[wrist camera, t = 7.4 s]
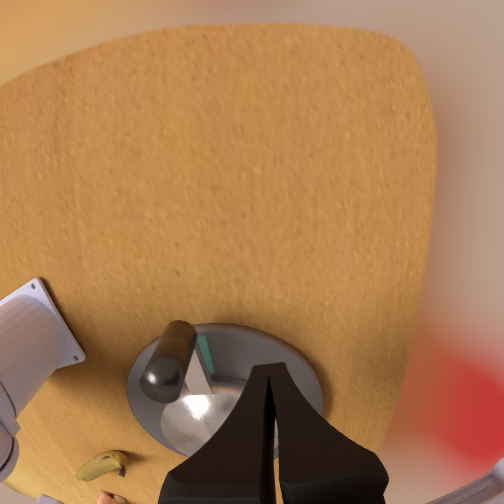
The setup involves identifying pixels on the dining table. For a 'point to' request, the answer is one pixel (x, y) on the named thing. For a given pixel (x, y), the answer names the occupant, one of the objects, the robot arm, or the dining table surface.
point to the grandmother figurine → (109, 499)
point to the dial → (188, 389)
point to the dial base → (225, 368)
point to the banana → (102, 465)
